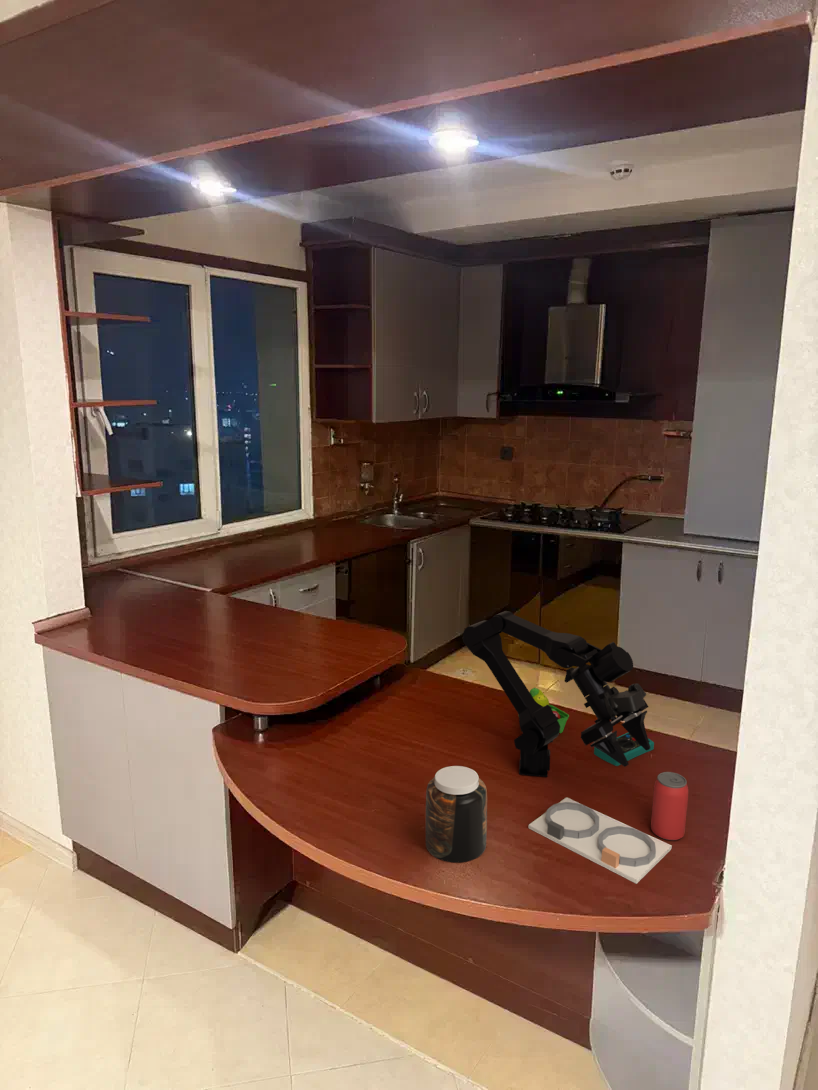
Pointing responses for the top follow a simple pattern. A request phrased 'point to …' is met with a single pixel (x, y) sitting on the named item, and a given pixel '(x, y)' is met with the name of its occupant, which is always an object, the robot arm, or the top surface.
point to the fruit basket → (544, 701)
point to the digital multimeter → (625, 749)
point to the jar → (456, 815)
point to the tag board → (601, 839)
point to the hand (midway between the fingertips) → (637, 757)
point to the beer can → (669, 806)
